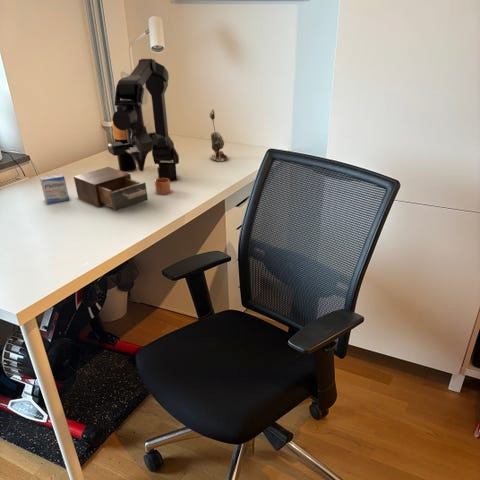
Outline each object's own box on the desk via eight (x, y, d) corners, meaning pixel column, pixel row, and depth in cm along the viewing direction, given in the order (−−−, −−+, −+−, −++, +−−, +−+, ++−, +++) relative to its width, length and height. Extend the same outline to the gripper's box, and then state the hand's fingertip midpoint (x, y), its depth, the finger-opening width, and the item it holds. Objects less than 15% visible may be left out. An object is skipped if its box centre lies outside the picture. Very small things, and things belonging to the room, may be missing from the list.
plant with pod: (207, 163, 214) (204, 113, 203) (212, 155, 223) (209, 107, 212) (226, 163, 213) (223, 113, 202) (230, 155, 222) (228, 107, 211)
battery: (116, 171, 208) (108, 120, 196) (124, 166, 213) (116, 116, 202) (132, 172, 206) (124, 121, 195) (139, 167, 211) (132, 117, 200)
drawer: (156, 203, 173) (153, 185, 170) (124, 214, 165) (120, 196, 162) (126, 192, 183) (124, 175, 180) (95, 202, 176) (91, 184, 172)
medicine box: (47, 204, 178) (41, 180, 173) (45, 200, 181) (39, 176, 176) (69, 200, 181) (64, 176, 176) (67, 196, 184) (61, 173, 179)
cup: (169, 189, 188) (168, 177, 185) (171, 193, 184) (170, 181, 181) (155, 190, 187) (153, 178, 184) (157, 195, 182) (155, 183, 180)
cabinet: (133, 196, 182) (130, 174, 178) (99, 207, 174) (94, 184, 169) (112, 188, 190) (108, 166, 186) (78, 198, 182) (73, 176, 177)
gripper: (115, 132, 151) (124, 182, 160) (171, 122, 159) (176, 171, 168) (103, 125, 159) (111, 173, 168) (157, 116, 167) (162, 163, 176)
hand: (141, 170), depth 170 cm, fingers closed
